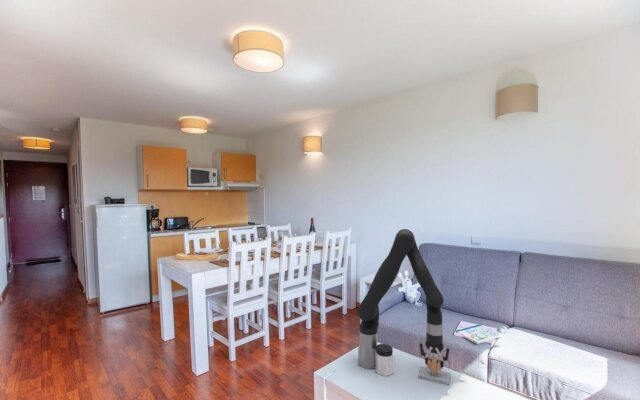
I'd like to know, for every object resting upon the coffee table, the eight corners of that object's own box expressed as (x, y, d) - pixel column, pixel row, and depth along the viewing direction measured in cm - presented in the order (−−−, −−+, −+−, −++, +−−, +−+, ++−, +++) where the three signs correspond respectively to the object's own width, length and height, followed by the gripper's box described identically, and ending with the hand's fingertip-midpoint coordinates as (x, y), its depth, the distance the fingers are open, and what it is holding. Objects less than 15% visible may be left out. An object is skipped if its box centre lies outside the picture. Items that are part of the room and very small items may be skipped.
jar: (383, 378, 150) (383, 353, 150) (372, 370, 157) (372, 346, 157) (396, 372, 155) (396, 348, 155) (384, 365, 162) (384, 342, 162)
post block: (417, 377, 151) (418, 358, 150) (420, 368, 159) (420, 350, 159) (449, 385, 145) (449, 365, 144) (450, 375, 153) (450, 356, 153)
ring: (427, 369, 150) (427, 362, 150) (428, 363, 156) (428, 356, 155) (440, 372, 148) (440, 365, 147) (441, 366, 153) (441, 359, 153)
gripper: (417, 332, 151) (417, 366, 151) (450, 337, 145) (449, 373, 145) (420, 326, 158) (419, 359, 158) (450, 331, 152) (450, 365, 152)
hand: (434, 366), depth 152 cm, fingers closed on ring, 5 cm apart
